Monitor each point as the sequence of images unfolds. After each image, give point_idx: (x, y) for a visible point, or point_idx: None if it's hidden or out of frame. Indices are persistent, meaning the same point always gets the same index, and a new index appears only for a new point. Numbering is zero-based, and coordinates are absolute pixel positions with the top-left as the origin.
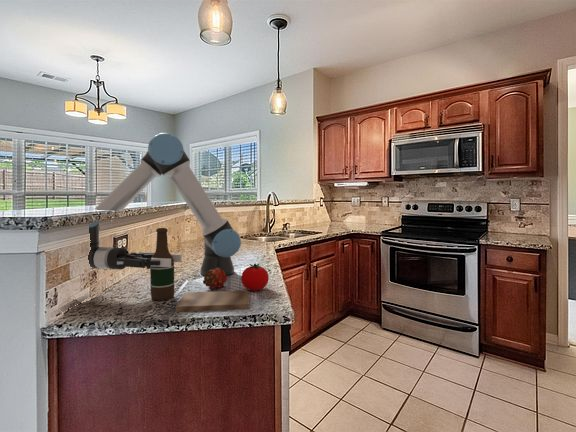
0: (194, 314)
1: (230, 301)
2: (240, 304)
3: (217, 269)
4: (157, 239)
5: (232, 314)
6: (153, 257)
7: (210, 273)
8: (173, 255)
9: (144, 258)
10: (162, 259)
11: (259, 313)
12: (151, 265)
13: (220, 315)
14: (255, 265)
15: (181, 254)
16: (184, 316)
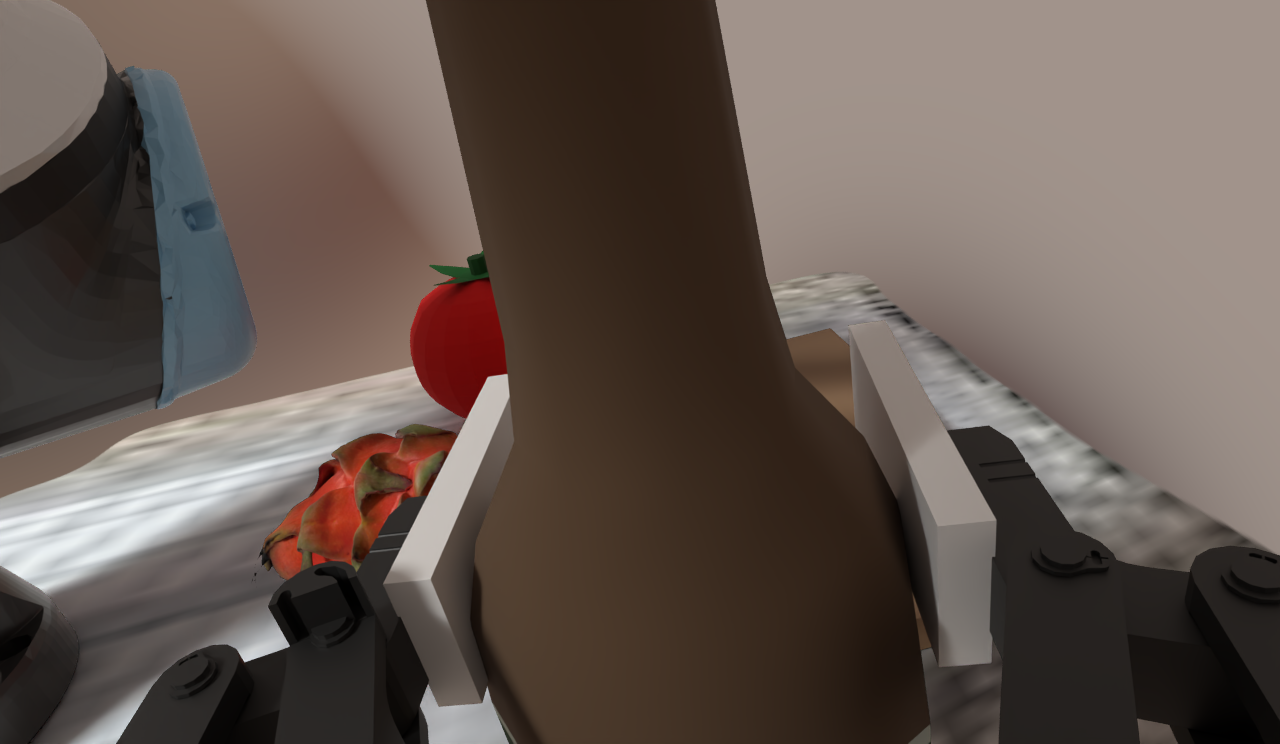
0: (1053, 487)
1: (822, 382)
2: (848, 347)
3: (419, 427)
4: (718, 83)
5: (940, 368)
6: (872, 536)
7: None
8: (497, 453)
9: (1050, 685)
10: (916, 390)
11: (876, 316)
12: (990, 639)
13: (983, 395)
14: (484, 262)
15: (492, 379)
16: (1128, 517)
